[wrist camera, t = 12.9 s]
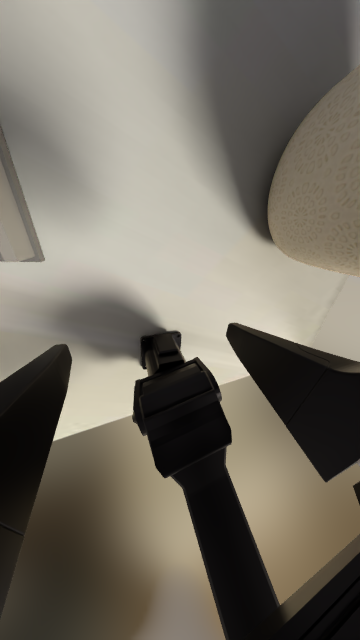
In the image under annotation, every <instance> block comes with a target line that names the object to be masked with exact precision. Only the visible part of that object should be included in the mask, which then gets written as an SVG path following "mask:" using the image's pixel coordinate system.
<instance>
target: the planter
mask: <svg viewBox="0 0 360 640" xmlns="http://www.w3.org/2000/svg"><path fill="white" fill-rule="evenodd" d="M268 224H269V229H270V233H271V236H272V238H273V241H274V242H275V244H276V246H277V247H278V248H279V249H280V250H281V251H282V252H283V253H284V254H285V255H287V256H288V257H290V258H292V259H294V260H296V261H299V262H302V263H304V264H307V265H311V266H314V267H318V268H322V269H326V270H330V271H334V272H339V273H343V274H348V275H352V276H357V277H360V65H359V66H358V67H356V68H355V69H354V70H353V71H352V72H351V73H349V74H348V75H347V76H346V77H345V78H343V79H342V80H341V81H340V82H339V83H338V84H336V85H335V86H334V87H333V88H332V89H331V90H330V91H329V92H328V93H327V94H326V95H325V96H324V97H323V98H322V99H321V100H320V101H319V102H318V103H317V104H316V105H315V107H314V108H313V109H312V110H311V111H310V112H309V114H308V115H307V116H306V118H305V119H304V120H303V121H302V123H301V124H300V125H299V127H298V128H297V130H296V131H295V133H294V135H293V136H292V138H291V139H290V141H289V143H288V145H287V147H286V148H285V150H284V152H283V155H282V157H281V159H280V161H279V164H278V166H277V169H276V171H275V174H274V177H273V181H272V184H271V188H270V193H269V199H268Z"/></svg>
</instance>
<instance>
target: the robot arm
mask: <svg viewBox="0 0 360 640" xmlns="http://www.w3.org/2000/svg"><path fill="white" fill-rule="evenodd" d="M177 335H179V336H177ZM226 337H227V339H228V341H229V343H230V344H231V346H232V348H233V350H234V352H235V353H236V355H237V357H238V358H239V360H240V361H241V362H242V364H243V365H244V367H245V368H246V370H247V371H248V373H249V374H250V375H251V377H252V378H253V380H254V381H255V383H256V384H257V385H258V387H259V388H260V390H261V391H262V393H263V394H264V395H265V397H266V398H267V400H268V401H269V403H270V404H271V405H272V407H273V408H274V410H275V411H276V413H277V414H278V416H279V417H280V418H281V420H282V421H283V422H284V424H285V425H286V427H287V429H288V430H289V431H290V433H291V434H292V436H293V437H294V439H295V440H296V441H297V443H298V444H299V446H300V447H301V449H302V450H303V452H304V453H305V454H306V456H307V457H308V459H309V460H310V462H311V463H312V464H313V466H314V467H315V469H316V470H317V471H318V473H319V474H320V476H321V477H322V479H323V480H324V481H325V482H328V481H329V480H331V479H333V478H334V477H336V476H337V475H339V474H340V473H342V472H343V471H345V470H346V469H348V468H350V467H351V466H353V465H354V464H356V463H357V464H358V465H359V466H360V362H357V361H353V360H350V359H347V358H343V357H340V356H336V355H333V354H329V353H326V352H323V351H320V350H316V349H313V348H310V347H307V346H304V345H301V344H298V343H294V342H292V341H289V340H286V339H283V338H280V337H277V336H274V335H271V334H268V333H265V332H262V331H259V330H256V329H253V328H250V327H247V326H244V325H241V324H238V323H230V324H229V325H228V328H227V332H226ZM143 340H144V341H143ZM140 341H141V356H142V368H143V369H147V372H148V377H146V378H144V379H141V380H140V379H139V380H136V382H135V388H134V404H133V411H134V412H133V415H132V419H133V422H134V423H136V424H138V426H139V429H140V431H141V433H142V435H143V436H145V435H147V436H148V440H149V444H150V447H151V451H152V454H153V458H154V462H155V466H156V468H157V470H158V471H159V472H160V473H161V475H162V476H163V477H164V478H167V477H169V476H171V477H172V478H173V479H174V480H175V481H176V482H177V483H178V484H179V485H180V486H181V487H182V489H183V491H184V495H185V498H186V501H187V505H188V509H189V512H190V516H191V519H192V523H193V526H194V530H195V533H196V537H197V540H198V544H199V547H200V551H201V554H202V558H203V561H204V565H205V568H206V572H207V575H208V579H209V582H210V586H211V589H212V593H213V596H214V600H215V603H216V607H217V610H218V614H219V617H220V621H221V624H222V628H223V631H224V635H225V638H226V640H360V534H359V535H358V536H357V537H356V538H355V539H354V540H353V541H352V542H350V543H349V544H348V545H347V546H346V547H345V548H344V549H343V550H342V551H340V552H339V553H338V554H337V555H336V556H335V557H334V558H333V559H332V560H331V561H329V562H328V563H327V564H326V565H325V566H324V567H323V568H322V569H321V570H319V571H318V572H317V573H316V574H315V575H314V576H313V577H312V578H310V579H309V580H308V581H307V582H306V583H305V584H304V585H303V586H302V587H301V588H299V589H298V590H297V591H296V592H295V593H294V594H293V595H292V596H290V597H289V598H288V599H287V600H286V601H285V602H284V603H283V604H282V605H280V604H279V602H278V599H277V597H276V594H275V592H274V589H273V586H272V584H271V581H270V579H269V576H268V573H267V571H266V568H265V566H264V563H263V561H262V558H261V555H260V553H259V550H258V548H257V545H256V543H255V540H254V537H253V535H252V532H251V530H250V527H249V525H248V522H247V519H246V517H245V514H244V512H243V509H242V507H241V504H240V502H239V499H238V496H237V494H236V491H235V489H234V486H233V483H232V481H231V478H230V476H229V473H228V470H227V468H226V465H225V463H226V447H227V446H228V445H231V443H232V436H231V428H230V426H229V424H228V421H227V419H226V417H225V415H224V412H223V410H222V407H221V405H220V401H221V400H222V397H221V392H220V389H219V386H218V384H217V382H216V380H215V378H214V376H213V375H212V373H211V372H210V370H209V369H208V368H207V367H206V366H205V365H204V364H203V363H202V362H201V360H200V359H199V358H198V357H196V358H194V359H193V360H190V361H188V362H186V361H185V359H184V357H183V355H182V353H181V351H180V347H181V333H180V332H176V333H166V334H158V335H153V336H145V337H142V338H141V339H140ZM71 364H72V357H71V354H70V351H69V348H68V346H67V345H66V344H59V345H55V346H53V347H52V348H50V349H49V350H47V351H46V352H44V353H43V354H41V355H40V356H38V357H37V358H35V359H34V360H32V361H31V362H30V363H28V364H27V365H25V366H24V367H22V368H21V369H19V370H18V371H16V372H15V373H13V374H12V375H10V376H9V377H7V378H6V379H4V380H3V381H1V382H0V618H1V615H2V611H3V608H4V605H5V601H6V598H7V594H8V591H9V588H10V584H11V581H12V577H13V574H14V571H15V567H16V564H17V561H18V557H19V554H20V550H21V547H22V544H23V540H24V535H25V532H26V529H27V526H28V522H29V519H30V516H31V512H32V509H33V506H34V502H35V499H36V495H37V492H38V488H39V485H40V482H41V478H42V475H43V471H44V468H45V465H46V462H47V458H48V454H49V451H50V447H51V445H52V441H53V438H54V434H55V431H56V428H57V424H58V421H59V417H60V414H61V411H62V407H63V404H64V400H65V397H66V393H67V389H68V383H69V377H70V370H71ZM145 366H146V367H145ZM353 488H354V490H355V493H356V496H357V499H358V501H359V504H360V481H359V482H357V483H356V484H355V485H354V486H353Z"/></svg>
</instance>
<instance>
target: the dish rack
mask: <svg viewBox="0 0 360 640" xmlns="http://www.w3.org/2000/svg"><path fill="white" fill-rule="evenodd" d="M0 261H5V262H42V261H45V258H44V255H43V252H42V249H41V246H40V243H39V240H38V237H37V234H36V231H35V228H34V225H33V222H32V219H31V216H30V213H29V210H28V207H27V204H26V201H25V198H24V195H23V192H22V189H21V186H20V183H19V180H18V177H17V174H16V171H15V168H14V165H13V162H12V159H11V156H10V153H9V150H8V147H7V144H6V141H5V138H4V135H3V132H2V129H1V126H0Z"/></svg>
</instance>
